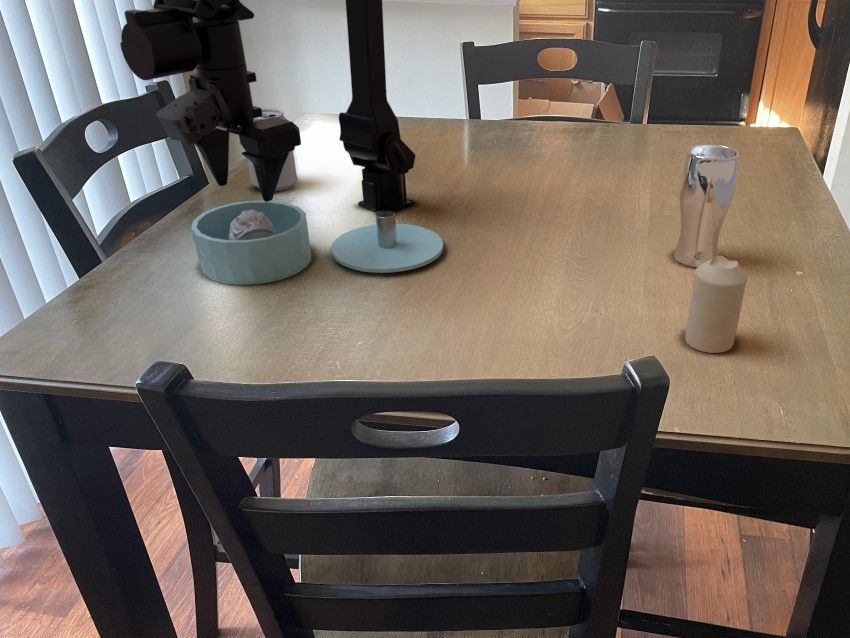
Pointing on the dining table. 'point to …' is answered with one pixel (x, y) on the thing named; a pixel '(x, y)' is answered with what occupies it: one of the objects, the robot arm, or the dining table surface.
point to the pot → (252, 244)
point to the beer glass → (705, 201)
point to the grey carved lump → (251, 226)
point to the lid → (387, 246)
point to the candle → (715, 305)
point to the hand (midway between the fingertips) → (245, 192)
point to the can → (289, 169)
